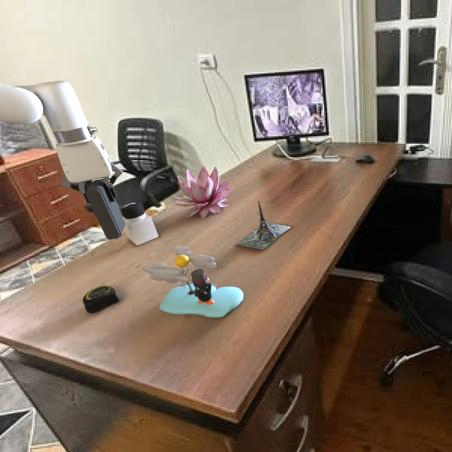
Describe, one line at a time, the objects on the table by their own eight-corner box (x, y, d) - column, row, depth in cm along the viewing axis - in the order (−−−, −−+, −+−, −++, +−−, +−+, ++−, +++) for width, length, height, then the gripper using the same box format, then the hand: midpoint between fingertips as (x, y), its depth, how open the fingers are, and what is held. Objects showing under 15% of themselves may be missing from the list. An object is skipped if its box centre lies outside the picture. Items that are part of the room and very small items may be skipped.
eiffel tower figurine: (265, 222, 117) (258, 185, 111) (291, 227, 113) (284, 189, 107) (237, 245, 106) (226, 206, 99) (264, 251, 102) (255, 210, 95)
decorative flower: (185, 232, 116) (171, 190, 109) (173, 210, 133) (160, 173, 125) (246, 212, 126) (237, 172, 118) (227, 194, 142) (218, 158, 135)
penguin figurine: (250, 293, 85) (237, 241, 78) (228, 325, 76) (210, 270, 69) (181, 285, 91) (162, 235, 83) (153, 314, 82) (129, 261, 74)
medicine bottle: (159, 236, 115) (146, 204, 109) (137, 246, 111) (122, 212, 105) (150, 230, 120) (138, 198, 114) (129, 239, 115) (115, 206, 109)
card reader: (112, 227, 103) (90, 179, 96) (127, 224, 104) (107, 176, 97) (105, 242, 95) (81, 191, 88) (121, 238, 96) (99, 188, 89)
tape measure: (90, 319, 82) (83, 307, 80) (86, 304, 87) (79, 292, 85) (121, 305, 86) (115, 293, 84) (116, 291, 91) (110, 280, 89)
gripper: (113, 126, 92) (137, 190, 101) (37, 138, 86) (70, 205, 95) (110, 132, 86) (137, 199, 95) (29, 145, 80) (65, 216, 89)
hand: (103, 201), depth 95 cm, fingers closed on card reader, 4 cm apart
